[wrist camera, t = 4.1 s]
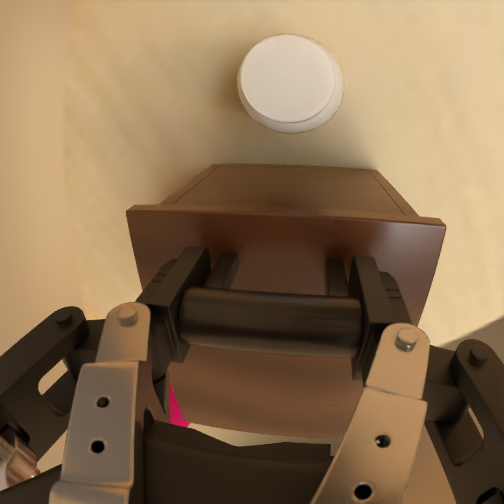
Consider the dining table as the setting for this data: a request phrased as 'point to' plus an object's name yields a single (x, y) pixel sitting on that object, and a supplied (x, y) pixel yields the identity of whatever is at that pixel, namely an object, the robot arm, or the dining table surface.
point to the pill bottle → (290, 83)
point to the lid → (278, 307)
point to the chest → (292, 188)
